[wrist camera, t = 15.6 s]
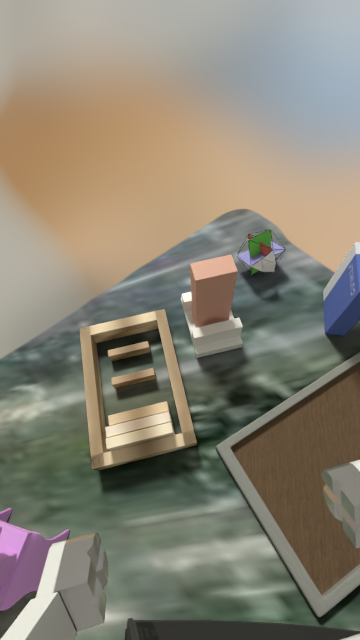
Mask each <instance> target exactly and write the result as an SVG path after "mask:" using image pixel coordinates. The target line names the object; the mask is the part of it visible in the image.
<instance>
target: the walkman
mask: <svg viewBox="0 0 360 640" xmlns="http://www.w3.org/2000/svg"><path fill="white" fill-rule="evenodd" d="M323 295H324V318H325V334H333V335H341V336H344V335H345V334H346V333H347V332H348V331H349V330H350V329H351V328H352V327H353V326H354V325H355V324H356V323H357V322H358V321H359V320H360V243H359V242H355V244H354V245H353V247H352V248H351V250H350V251H349V253H348V254H347V256H346V258H345V259H344V261H342V263H341V264H340V266H339V268H338V269H337V271H336V272H335V274H334V275H333V277H332V278H331V280H330V281H329V283H328V285H327V286H326V288H325V289H324V291H323Z"/></svg>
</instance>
